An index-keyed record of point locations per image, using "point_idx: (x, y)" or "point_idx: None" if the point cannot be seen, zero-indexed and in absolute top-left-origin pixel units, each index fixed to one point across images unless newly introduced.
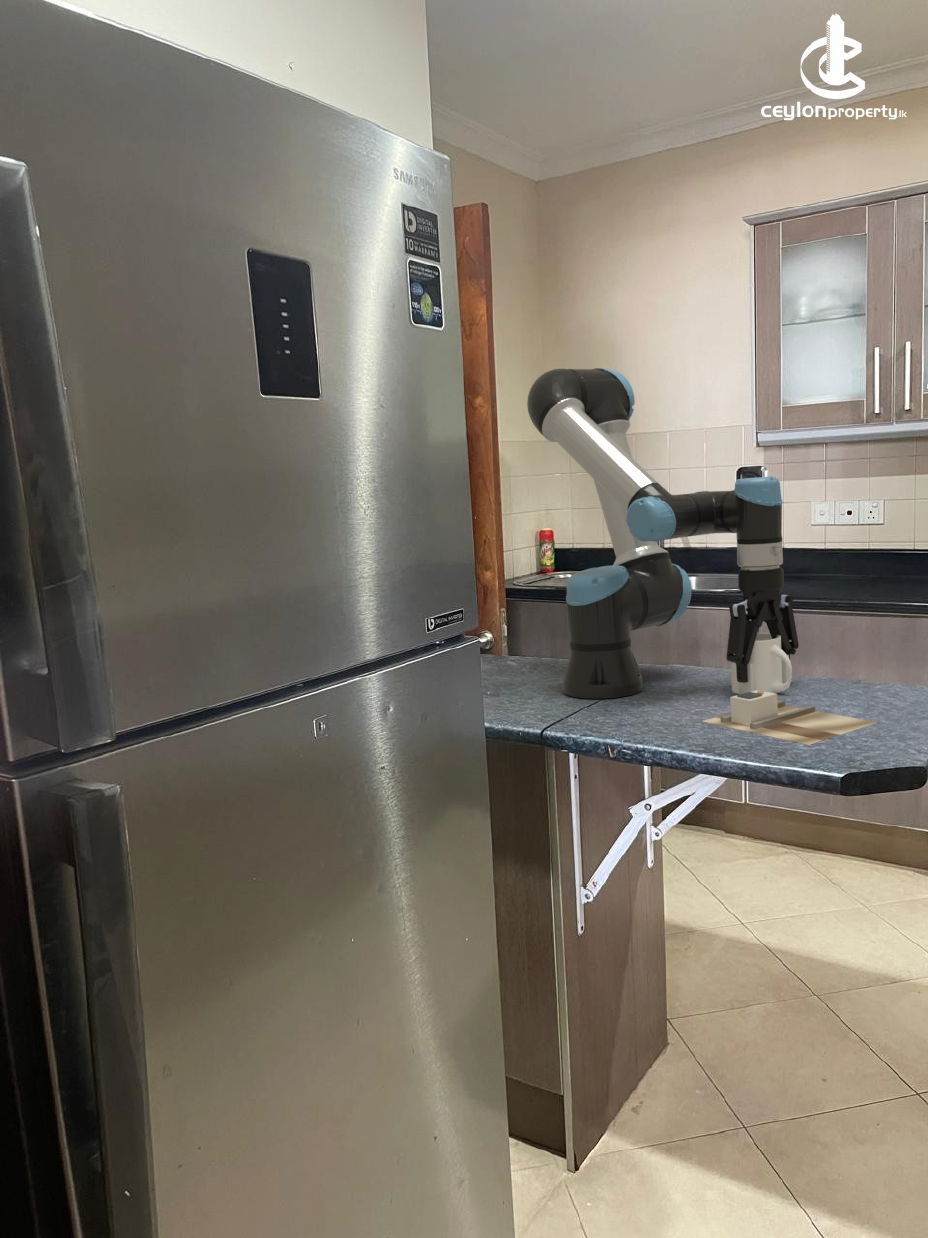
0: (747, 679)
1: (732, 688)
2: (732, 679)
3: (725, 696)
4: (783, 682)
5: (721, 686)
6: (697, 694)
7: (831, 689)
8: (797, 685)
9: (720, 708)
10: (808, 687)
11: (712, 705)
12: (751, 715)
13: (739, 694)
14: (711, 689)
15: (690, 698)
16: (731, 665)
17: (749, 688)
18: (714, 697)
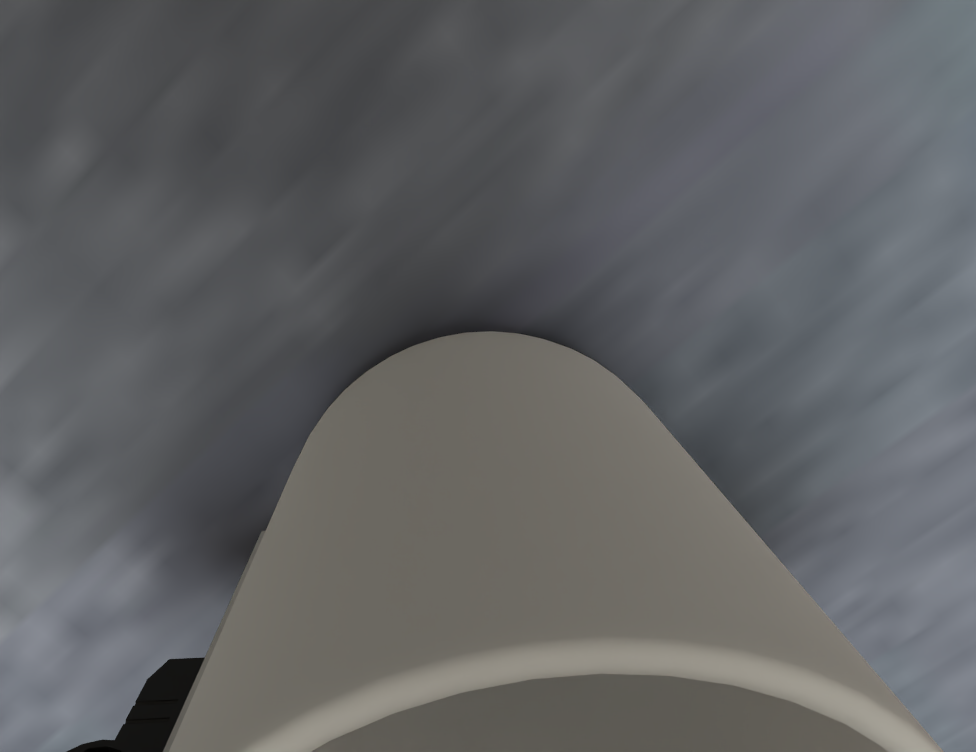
0: None
1: (307, 439)
2: (287, 483)
3: (324, 325)
4: None
5: (593, 19)
6: (206, 75)
7: (920, 697)
8: (931, 481)
9: (26, 555)
10: (907, 570)
11: (39, 454)
12: None
13: (254, 554)
14: (441, 32)
15: (52, 140)
16: (267, 541)
17: None
18: (235, 280)
